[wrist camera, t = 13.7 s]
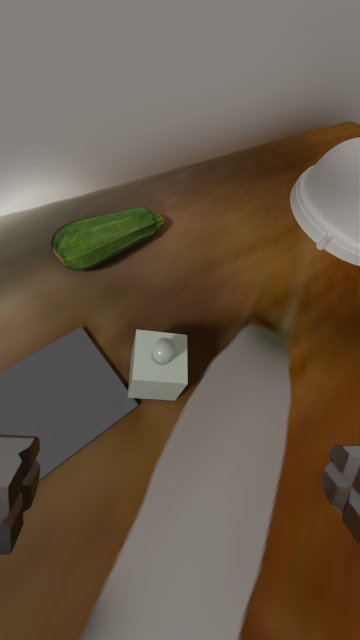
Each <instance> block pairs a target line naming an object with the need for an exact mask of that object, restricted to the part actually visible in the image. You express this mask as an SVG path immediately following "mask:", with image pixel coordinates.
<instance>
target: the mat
mask: <svg viewBox="0 0 360 640" xmlns="http://www.w3.org/2000/svg"><path fill="white" fill-rule="evenodd" d="M137 406H138V404H137V402H136V401H135V400H134V398H128V390H127V389H126V387H125V386H124V385H123V383H122V382H121V380H120V379H119V378H118V376H117V375H116V374H115V372H114V371H113V369H112V368H111V367H110V365H109V364H108V363H107V361H106V360H105V358H104V357H103V356H102V354H101V353H100V352H99V350H98V349H97V347H96V346H95V345H94V343H93V342H92V341H91V339H90V338H89V336H88V335H87V334H86V332H85V331H84V330H83V328H82V327H80V328H78V329H76V330H74V331H72V332H71V333H69V334H67V335H65V336H64V337H62V338H60V339H58V340H57V341H55V342H53V343H51V344H49V345H48V346H46V347H44V348H42V349H41V350H39V351H37V352H35V353H33V354H32V355H30V356H28V357H26V358H25V359H23V360H21V361H19V362H17V363H16V364H14V365H12V366H10V367H9V368H7V369H5V370H3V371H2V372H0V434H4V435H23V436H37V437H38V438H39V440H40V451H39V453H38V455H37V457H36V460H37V461H38V463H39V464H40V478H39V481H40V480H41V479H42V478H44V477H45V476H46V475H48V474H49V473H50V472H52V471H53V470H54V469H56V468H57V467H58V466H60V465H61V464H62V463H63V462H65V461H66V460H67V459H69V458H70V457H71V456H73V455H74V454H75V453H77V452H78V451H79V450H81V449H82V448H83V447H85V446H86V445H87V444H89V443H90V442H91V441H93V440H94V439H95V438H96V437H98V436H99V435H100V434H102V433H103V432H104V431H106V430H107V429H108V428H110V427H111V426H112V425H114V424H115V423H116V422H118V421H119V420H120V419H122V418H123V417H124V416H126V415H127V414H128V413H129V412H131V411H132V410H133V409H135V408H136V407H137Z"/></svg>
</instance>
